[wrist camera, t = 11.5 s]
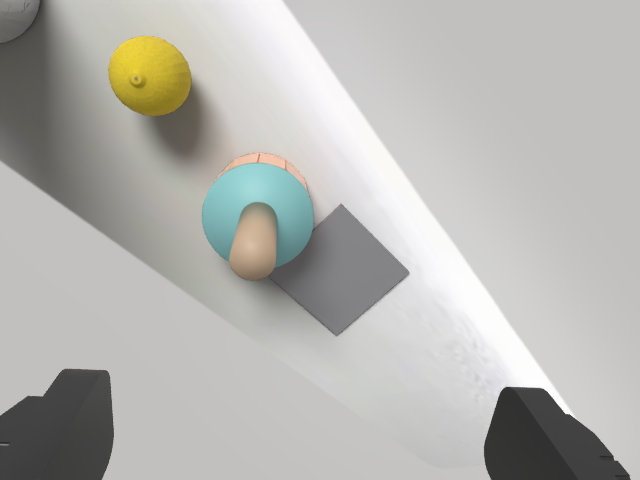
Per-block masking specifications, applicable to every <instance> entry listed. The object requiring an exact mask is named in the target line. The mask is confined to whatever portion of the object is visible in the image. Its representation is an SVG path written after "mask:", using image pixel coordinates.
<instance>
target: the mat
mask: <svg viewBox="0 0 640 480" xmlns="http://www.w3.org/2000/svg"><path fill="white" fill-rule="evenodd" d="M408 274H409V271H408V270H407V269H406V268H405V267H404V266H403V265H402V264H401V263H400V262H399V261H398V260H397V259H396V258H395V257H394V256H393V255H392V254H391V253H390V252H389V251H388V250H387V249H386V248H385V247H384V246H383V245H382V244H381V243H380V242H379V241H378V240H377V239H376V238H375V237H374V236H373V235H372V234H371V233H370V232H369V231H368V230H367V229H366V228H365V227H364V226H363V225H362V224H361V223H360V222H359V221H358V220H357V219H356V218H355V217H354V216H353V215H352V214H351V213H350V212H349V211H348V210H347V209H346V208H345V207H344V206H343V205H342V204H340V205H339V206H338V207H337V208H336V209H335V210H334V211H333V212H332V213H331V214H330V215H329V216H328V217H326V218H325V219H324V220H323V221H322V222H321V223H320V224H319V225H318V226H317V227H316V228H315V229H314V230H313V231H312V234H311V236H310V239H309V241H308V243H307V245H306V246H305V247H304V249H303V250H302V251H301V252H300V253H299V254H298V255H297V256H296V257H295V258H294V259H292V260H291V261H289V262H288V263H286V264H284V265H282V266H279V267H276V268H274V269H273V271H272V272H271V273H270V274H269V275H268V277H269V278H271V279H272V280H273V281H274V282H275V283H276V284H277V285H279V286H280V287H281V288H282V289H283V290H284V291H286V292H287V293H288V294H289V295H290V296H291V297H293V298H294V299H295V300H296V301H297V302H298V303H299V304H301V305H302V306H303V307H304V308H305V309H306V310H308V311H309V312H310V313H311V314H312V315H313V316H315V317H316V318H317V319H318V320H319V321H320V322H322V323H323V324H324V325H325V326H326V327H327V328H328V329H330V330H331V331H332V332H333V333H334V334H335V335H338V334H339V333H340V332H341V331H342V330H344V329H345V328H346V327H347V326H348V325H349V324H351V323H352V322H353V321H354V320H355V319H356V318H358V317H359V316H360V315H361V314H362V313H363V312H365V311H366V310H367V309H368V308H369V307H370V306H372V305H373V304H374V303H375V302H376V301H377V300H379V299H380V298H381V297H382V296H383V295H384V294H386V293H387V292H388V291H389V290H390V289H391V288H393V287H394V286H395V285H396V284H397V283H398V282H399V281H401V280H402V279H403V278H404V277H405V276H406V275H408Z"/></svg>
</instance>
